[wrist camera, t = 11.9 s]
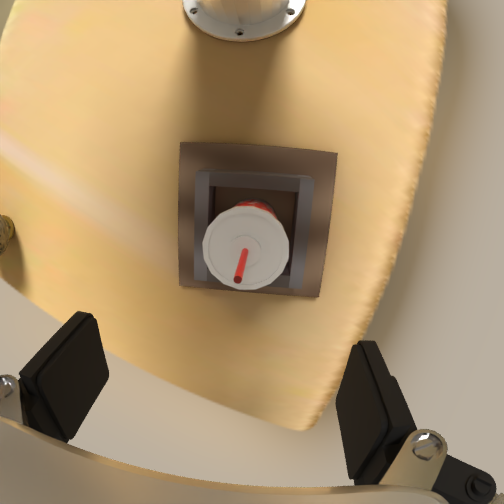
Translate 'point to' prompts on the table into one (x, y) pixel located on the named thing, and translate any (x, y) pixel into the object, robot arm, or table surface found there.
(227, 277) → the beverage cup
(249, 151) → the socket board
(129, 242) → the table surface
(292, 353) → the table surface
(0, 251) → the cup
